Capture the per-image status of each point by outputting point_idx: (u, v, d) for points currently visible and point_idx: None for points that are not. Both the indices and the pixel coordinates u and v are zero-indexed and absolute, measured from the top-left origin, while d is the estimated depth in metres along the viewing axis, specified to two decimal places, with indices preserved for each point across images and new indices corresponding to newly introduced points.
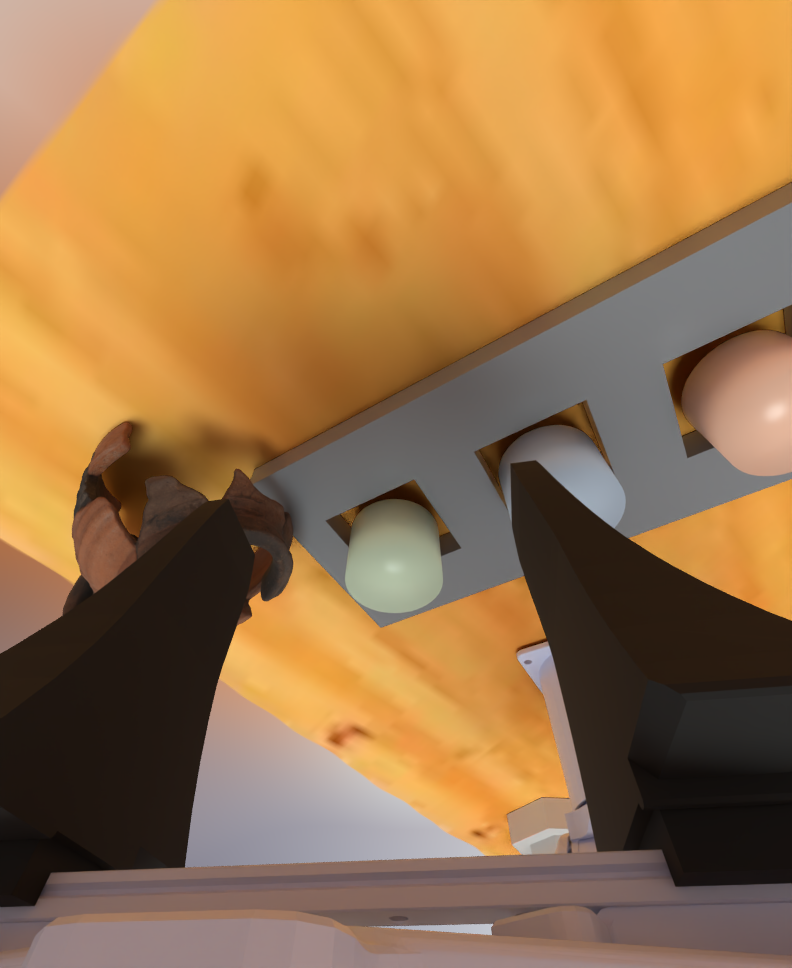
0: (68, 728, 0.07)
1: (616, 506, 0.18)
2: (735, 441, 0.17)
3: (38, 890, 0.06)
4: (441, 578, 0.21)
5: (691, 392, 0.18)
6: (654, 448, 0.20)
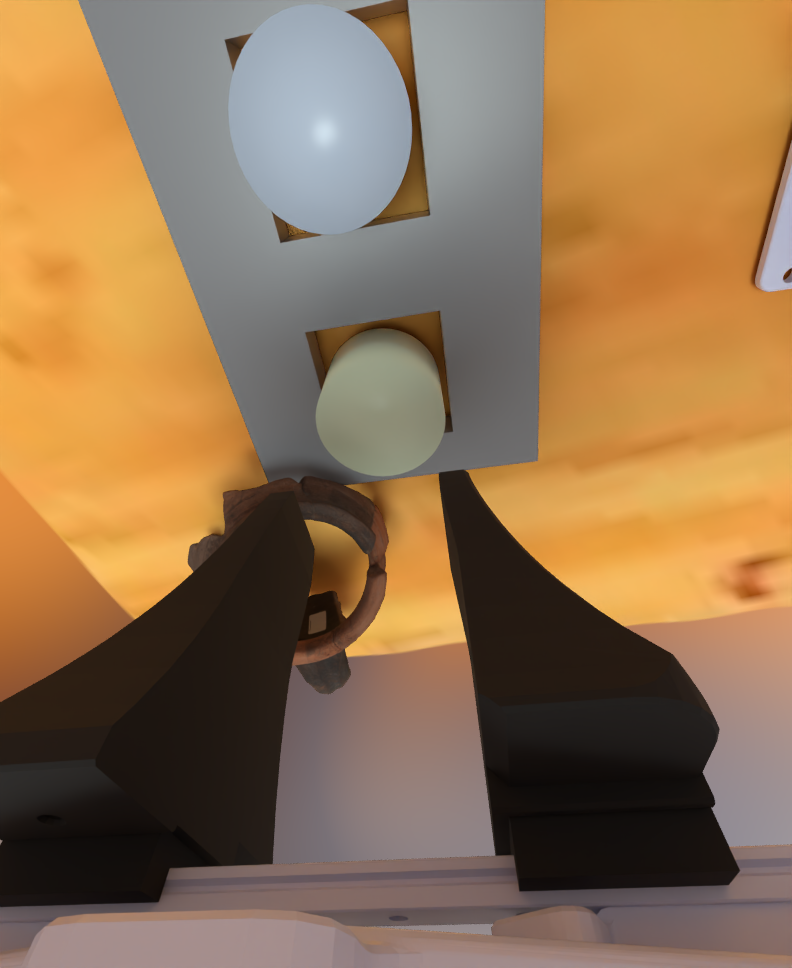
0: (182, 720, 0.06)
1: (329, 29, 0.10)
2: None
3: None
4: (396, 365, 0.15)
5: None
6: None
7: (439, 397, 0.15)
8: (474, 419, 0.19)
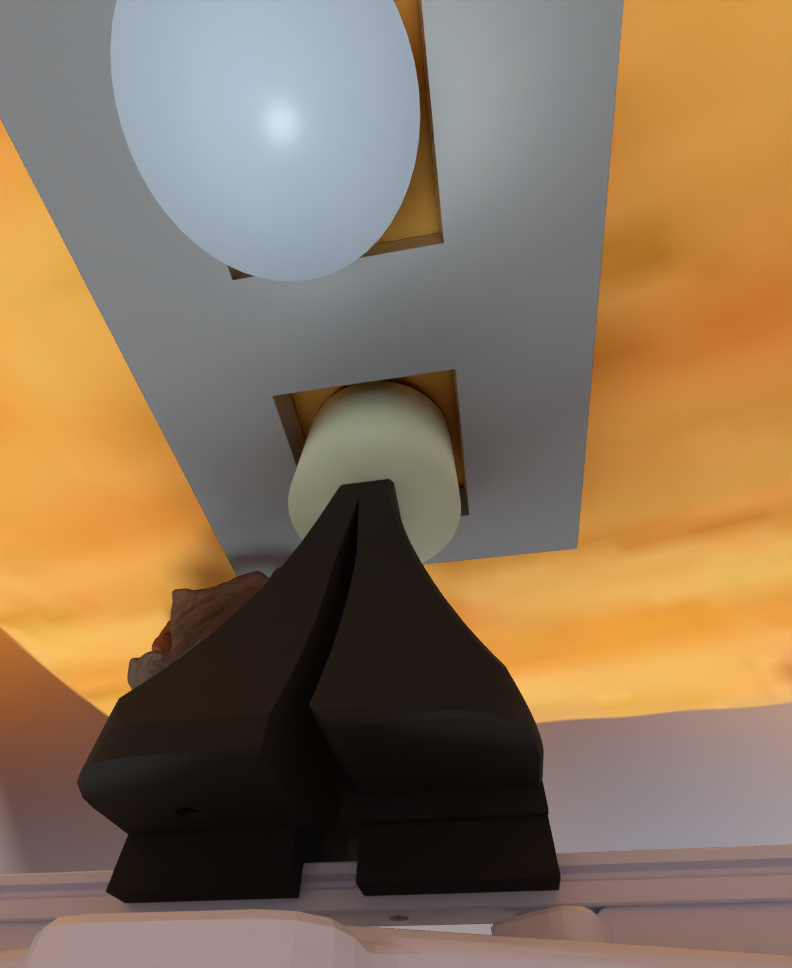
0: (309, 710, 0.06)
1: None
2: None
3: (38, 890, 0.06)
4: (395, 443, 0.11)
5: None
6: None
7: (453, 483, 0.11)
8: (496, 501, 0.15)
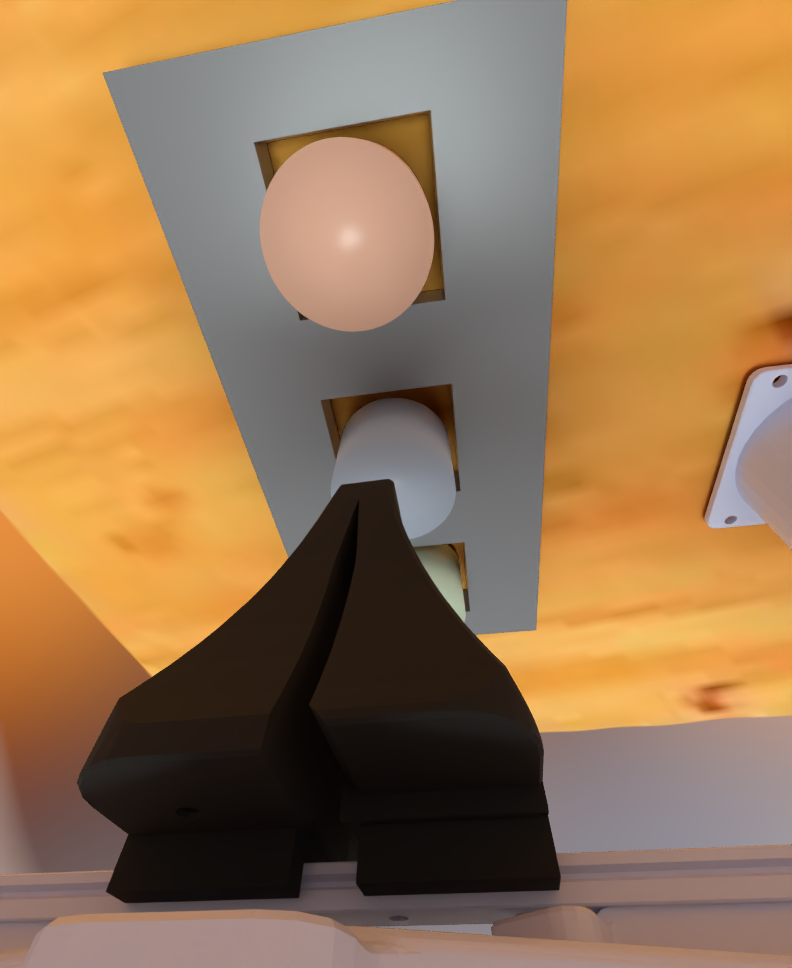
0: (309, 710, 0.06)
1: (404, 450, 0.15)
2: (352, 318, 0.13)
3: (38, 890, 0.06)
4: None
5: None
6: (412, 338, 0.16)
7: (462, 604, 0.21)
8: (486, 604, 0.24)
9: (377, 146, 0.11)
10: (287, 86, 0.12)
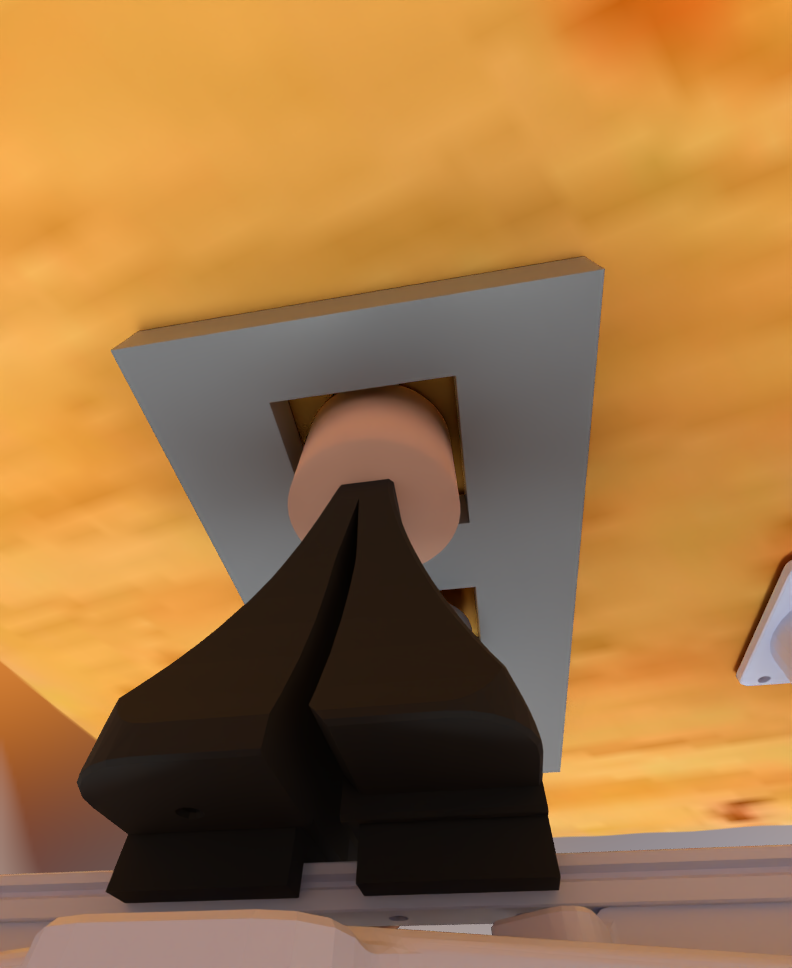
0: (309, 710, 0.06)
1: None
2: None
3: (38, 890, 0.06)
4: None
5: None
6: None
7: None
8: None
9: (405, 444, 0.11)
10: (304, 358, 0.12)
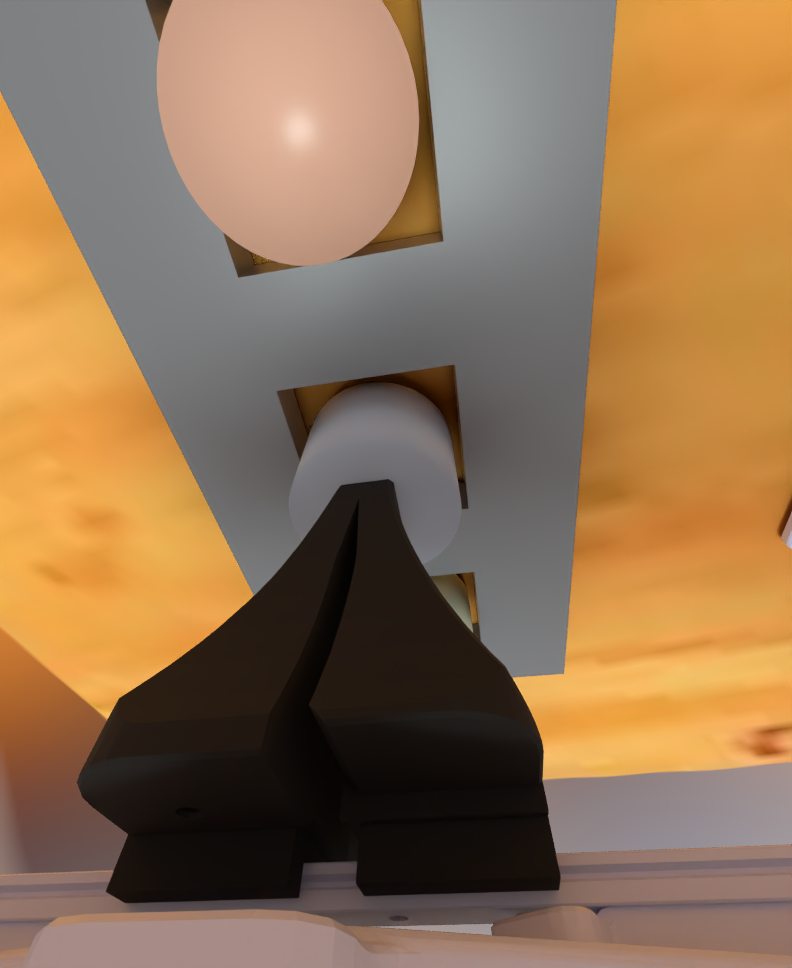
0: (309, 710, 0.06)
1: (388, 453, 0.11)
2: (305, 245, 0.09)
3: (38, 890, 0.06)
4: None
5: None
6: (398, 300, 0.12)
7: None
8: (502, 645, 0.20)
9: None
10: None
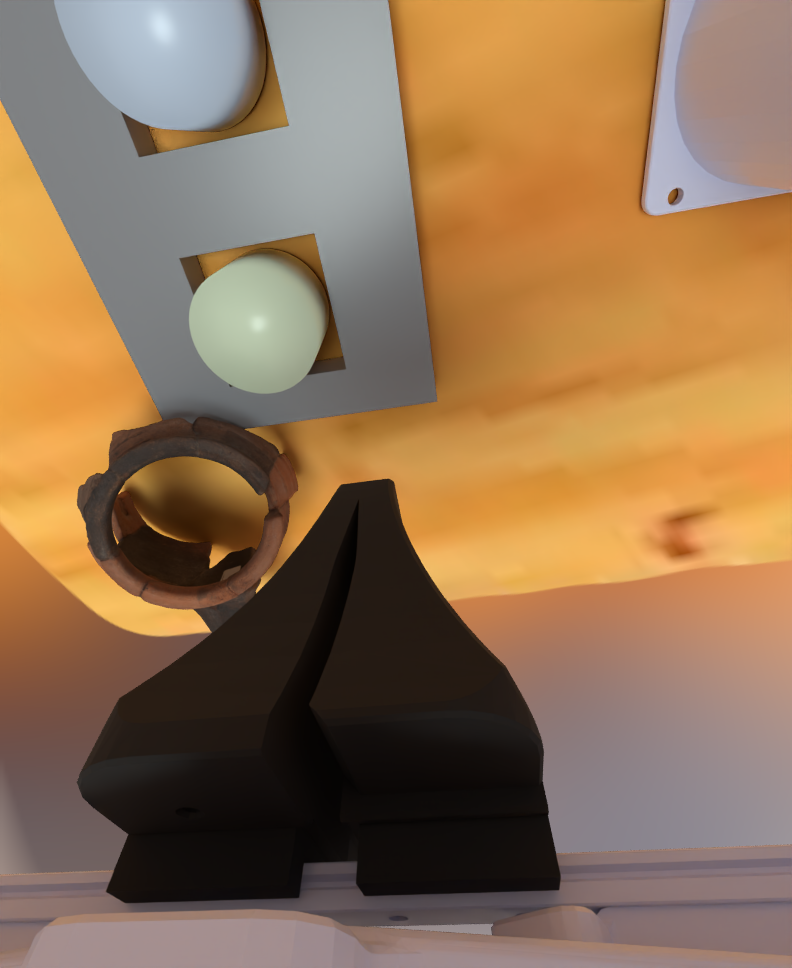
0: (310, 710, 0.06)
1: None
2: None
3: (38, 890, 0.06)
4: (259, 271, 0.15)
5: None
6: None
7: (307, 306, 0.16)
8: (365, 355, 0.19)
9: None
10: None
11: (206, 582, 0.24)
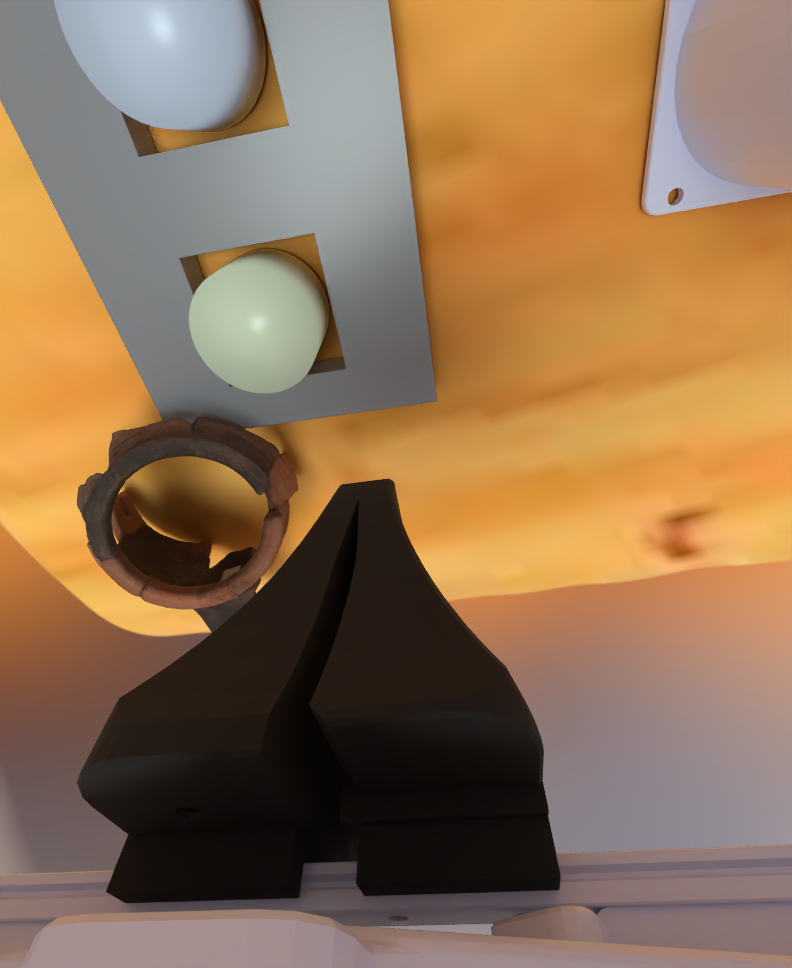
0: (310, 710, 0.06)
1: None
2: None
3: (38, 890, 0.06)
4: (259, 271, 0.15)
5: None
6: None
7: (306, 306, 0.16)
8: (365, 355, 0.19)
9: None
10: None
11: (206, 582, 0.24)
